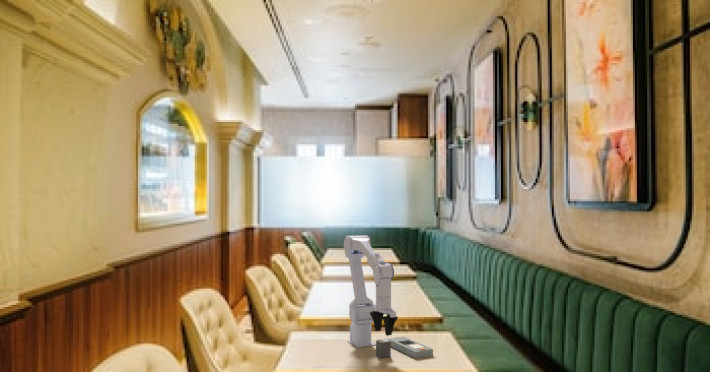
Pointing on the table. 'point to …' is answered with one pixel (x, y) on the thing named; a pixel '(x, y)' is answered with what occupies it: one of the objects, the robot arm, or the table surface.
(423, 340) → the table surface
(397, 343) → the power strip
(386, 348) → the plug block
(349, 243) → the robot arm
